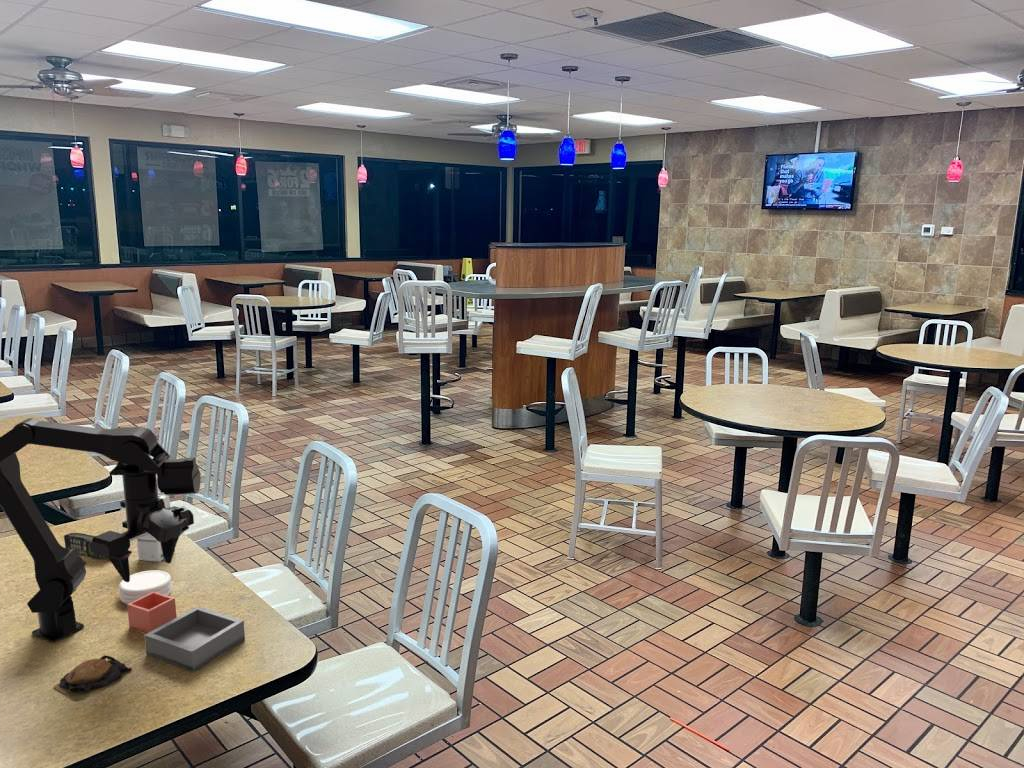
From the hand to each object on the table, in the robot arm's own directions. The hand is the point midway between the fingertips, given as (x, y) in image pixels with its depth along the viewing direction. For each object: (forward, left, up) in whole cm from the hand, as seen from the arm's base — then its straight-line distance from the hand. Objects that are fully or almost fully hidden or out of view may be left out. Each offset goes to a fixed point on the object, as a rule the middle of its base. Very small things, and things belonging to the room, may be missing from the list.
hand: (148, 572), depth 148 cm
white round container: (-12, +8, -12) cm, 18 cm away
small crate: (0, 0, -11) cm, 11 cm away
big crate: (+14, -2, -11) cm, 18 cm away
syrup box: (-26, +22, -11) cm, 36 cm away
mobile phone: (-40, +15, -12) cm, 44 cm away
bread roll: (+7, -17, -12) cm, 22 cm away
